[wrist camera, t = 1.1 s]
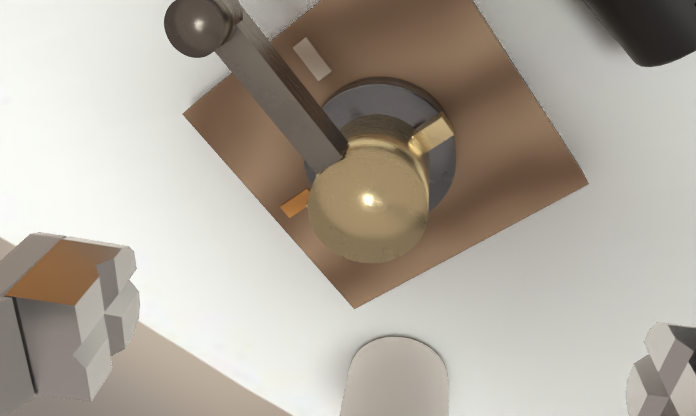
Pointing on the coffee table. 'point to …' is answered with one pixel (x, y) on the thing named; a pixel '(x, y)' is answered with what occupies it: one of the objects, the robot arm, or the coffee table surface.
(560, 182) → the base plate
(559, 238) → the coffee table surface
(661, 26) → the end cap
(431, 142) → the crank handle
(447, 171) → the post collar
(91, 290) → the robot arm
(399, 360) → the pill bottle
